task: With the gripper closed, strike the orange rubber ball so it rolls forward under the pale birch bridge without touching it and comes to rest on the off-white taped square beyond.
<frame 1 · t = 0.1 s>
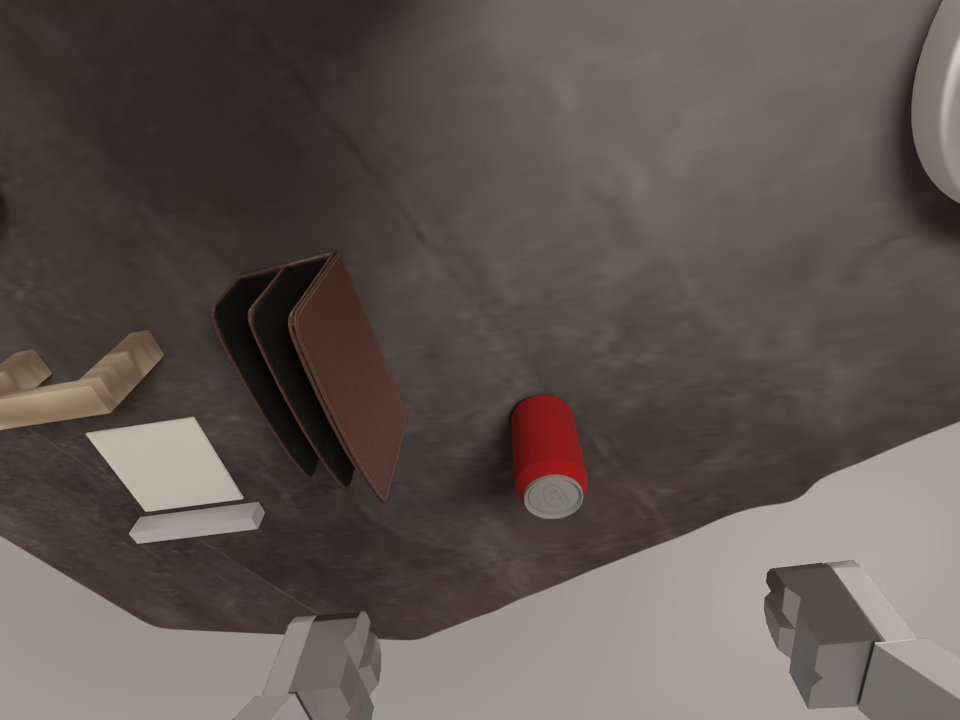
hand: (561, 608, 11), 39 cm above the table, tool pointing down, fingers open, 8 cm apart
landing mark: (168, 466, 62), on the table
stopper: (202, 514, 67), on the table
letter holder: (332, 348, 54), on the table
beverage can: (541, 413, 58), on the table
bridge: (90, 353, 54), on the table
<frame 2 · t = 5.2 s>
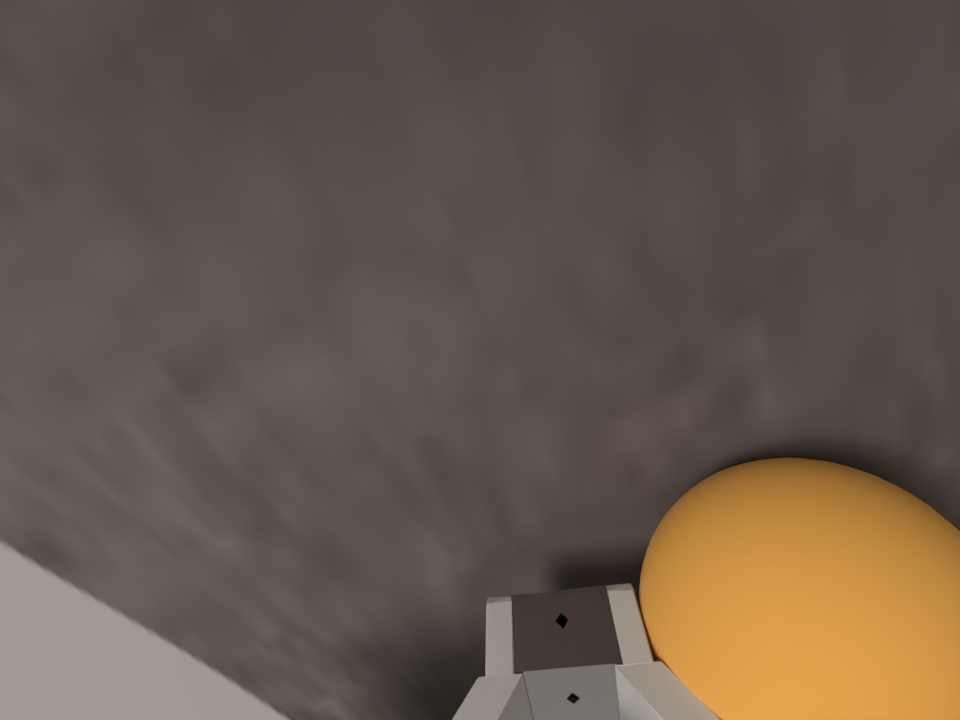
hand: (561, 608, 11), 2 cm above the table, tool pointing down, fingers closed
ball: (805, 619, 9), on the table, touching gripper
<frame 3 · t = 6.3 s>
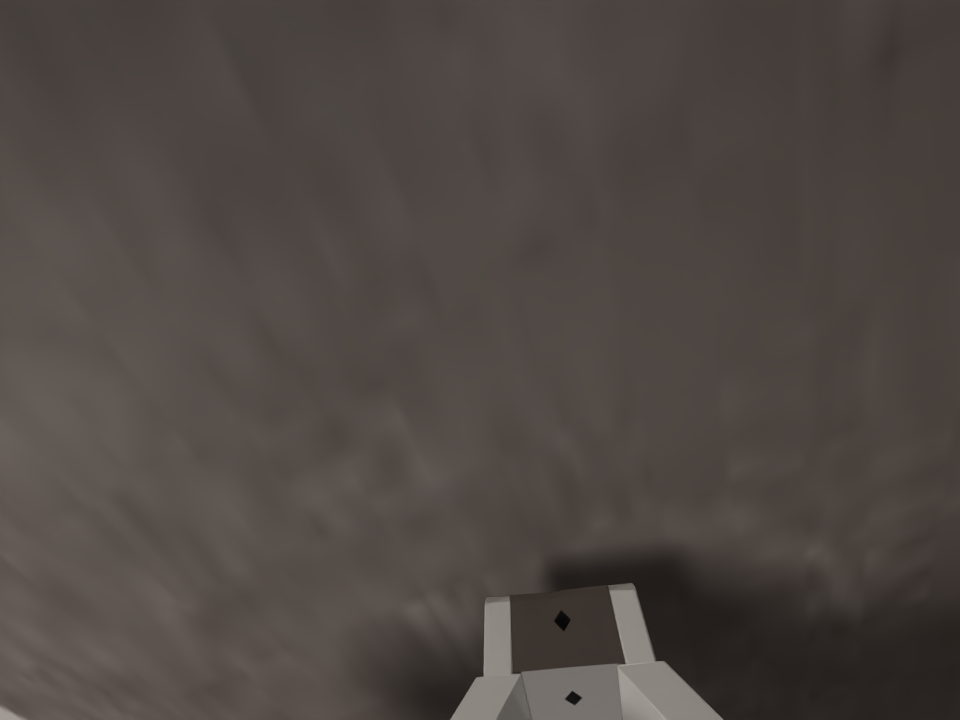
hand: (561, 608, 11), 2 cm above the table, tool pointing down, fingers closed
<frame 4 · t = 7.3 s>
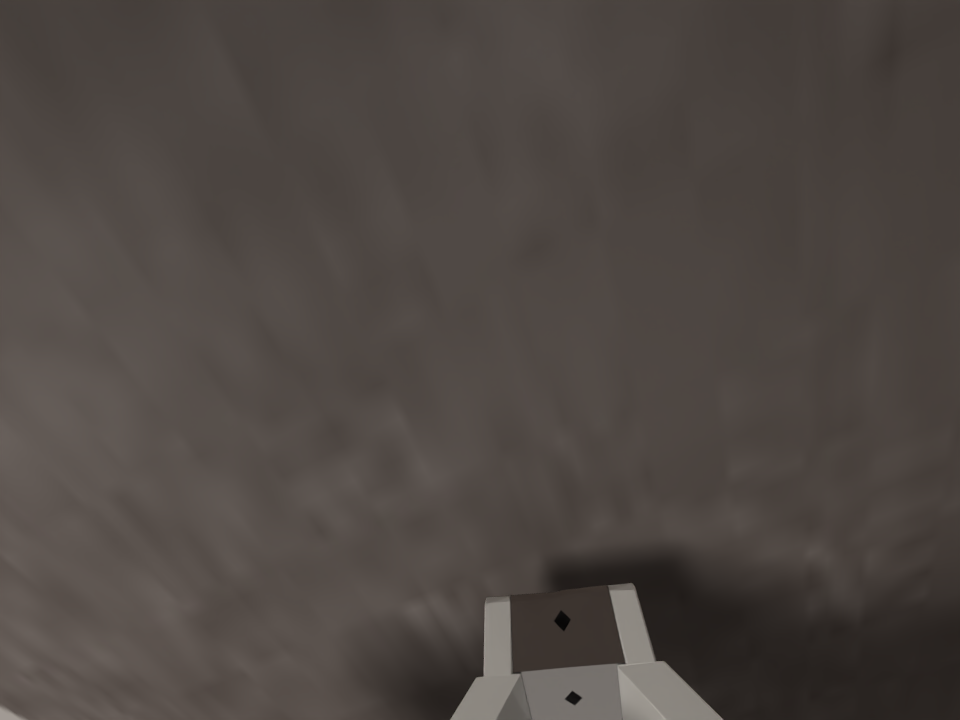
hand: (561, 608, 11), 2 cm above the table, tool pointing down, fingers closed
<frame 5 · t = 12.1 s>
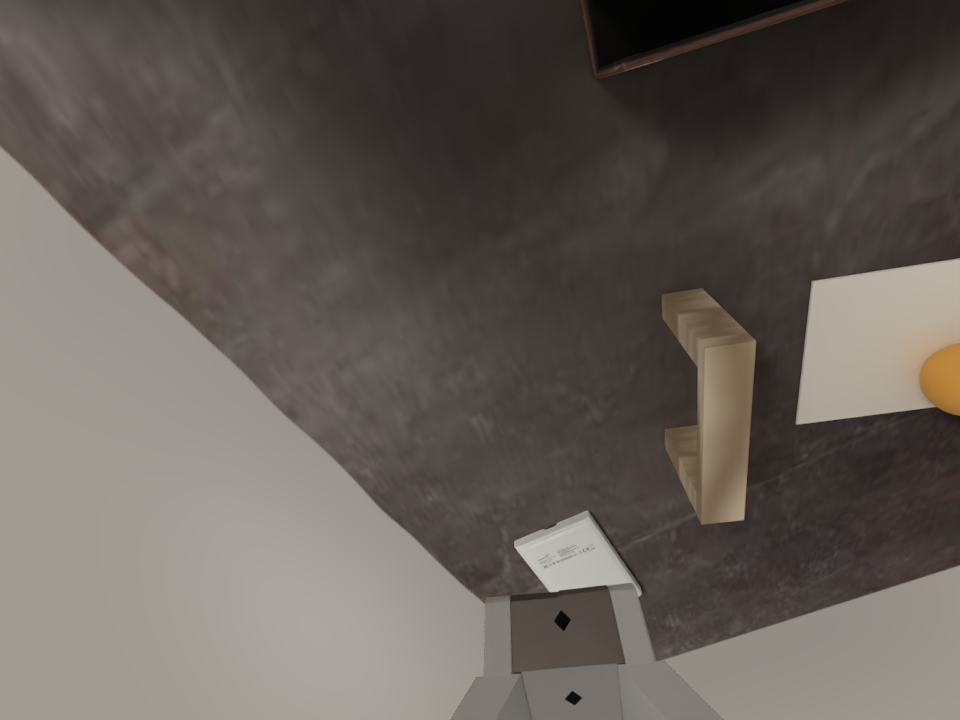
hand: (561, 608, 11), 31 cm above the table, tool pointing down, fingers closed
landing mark: (888, 345, 42), on the table
external hard drive: (577, 558, 55), on the table
bridge: (682, 373, 43), on the table
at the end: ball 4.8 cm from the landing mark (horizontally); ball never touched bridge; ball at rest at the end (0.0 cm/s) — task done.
